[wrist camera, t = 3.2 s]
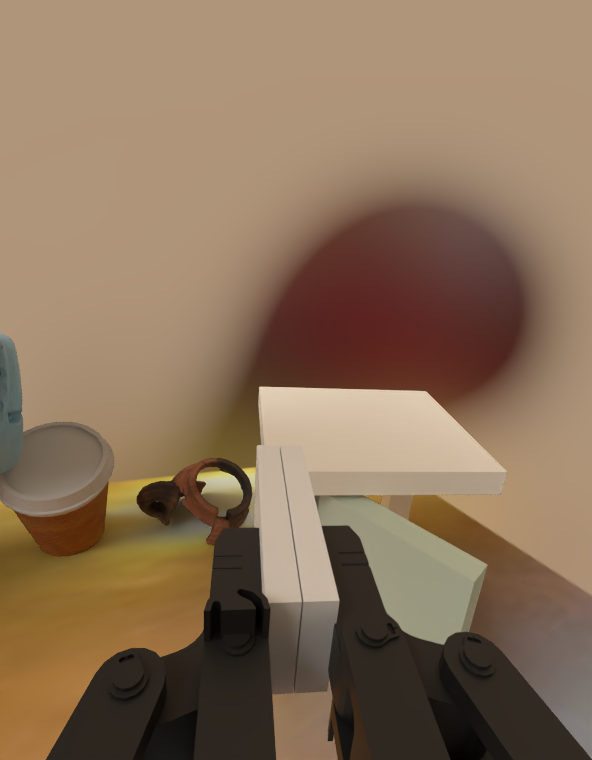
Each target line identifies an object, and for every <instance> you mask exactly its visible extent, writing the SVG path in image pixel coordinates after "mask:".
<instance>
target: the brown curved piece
mask: <svg viewBox="0 0 592 760" xmlns="http://www.w3.org/2000/svg"><path fill="white" fill-rule="evenodd" d="M206 467H218V468H220V471H223V472H227V473H229V474H231V475H233V476H235V477H236V478H237V480H238V481H239V483H240V485H241V489H242V490H243V500H242V502H241V504H240V505H239V506H237V507H235V508H233V509H229V510H227V513H226V517H218V516H217V515H218V508H217V507H215V506H213V505H211V504H210V503H208V502H207V501H206V500H205V499H204V498H203V497H202V496H201V492H202V489H203V488H204V487H205V485H206V483H205V482H201V481H196V479H197V475H198V473H199V472H200V470H202V469H204V468H206ZM183 496H185V498H184V499H183V501H182V504H183V505H184V506H185V507H186V508H187V509H188V510H189V511H190V512H191V513H192V514H193V515H195V516H196V517H197V518H198V519H200V520H201V521H202V522H203V523H205V524H207V525H209V526H211V527H212V530H211V533H210V535H209V536H208V538H207V539H206V541H207V544H213V545H215V540H216V539H217V537H218V536H219V534H220V533H221V531H222V530H223V528H239V527H240V526H241V524H242V523H243V522H244V520H245V519H246V517H247V515H248V512H249V509H248V507H249V505H250V501H251V500H250V499H251V498H252V487H251V483H250V481H249V478H248V477H247V475H246V474H245V473H244V471H243V470H242V469H241V468H240V467H239V466H237V465H236V464H235V463H232V462H230V461H228V460H225V459H221V458H217V459H216V458H209V459H205V460H202V461H201V462H198V463H196V464H193V465H190V466H188V467H186V468H184V469H183V470H181V471H180V472H179V473H178V474H177V475H176V476H175V477H174V478H173V480H172V481H159V482H155V483H151V484H149V485H147V486H145V487H143V488H142V490H141V491H140V492H139V494H138V496H137V504H138V505H139V508H140V509H141V510H142V511H143V512H144V513H146V514H147V515H149V516H152V517H155V518H158V519H159V520H160V521H161V522H162V524H164V525H165V526H167V525H168V524H169V518H170V515H171V513H172V510H173V509H174V508H175V507H176V505H177V503H178V502H179V499H180V497H183ZM156 501H159V502H156Z"/></svg>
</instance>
